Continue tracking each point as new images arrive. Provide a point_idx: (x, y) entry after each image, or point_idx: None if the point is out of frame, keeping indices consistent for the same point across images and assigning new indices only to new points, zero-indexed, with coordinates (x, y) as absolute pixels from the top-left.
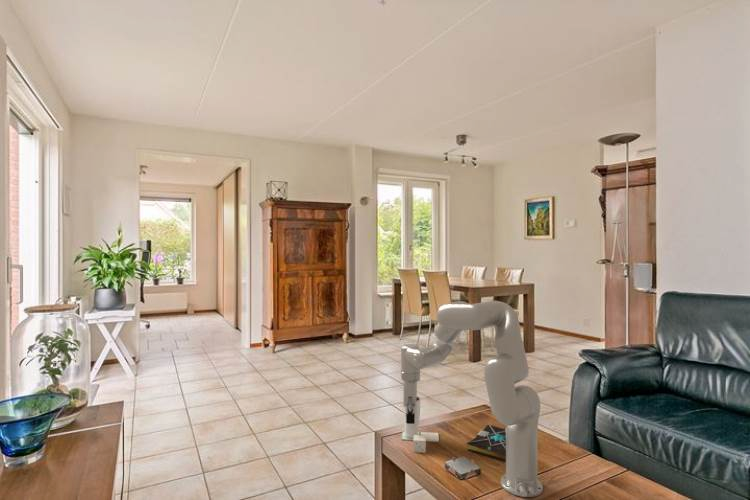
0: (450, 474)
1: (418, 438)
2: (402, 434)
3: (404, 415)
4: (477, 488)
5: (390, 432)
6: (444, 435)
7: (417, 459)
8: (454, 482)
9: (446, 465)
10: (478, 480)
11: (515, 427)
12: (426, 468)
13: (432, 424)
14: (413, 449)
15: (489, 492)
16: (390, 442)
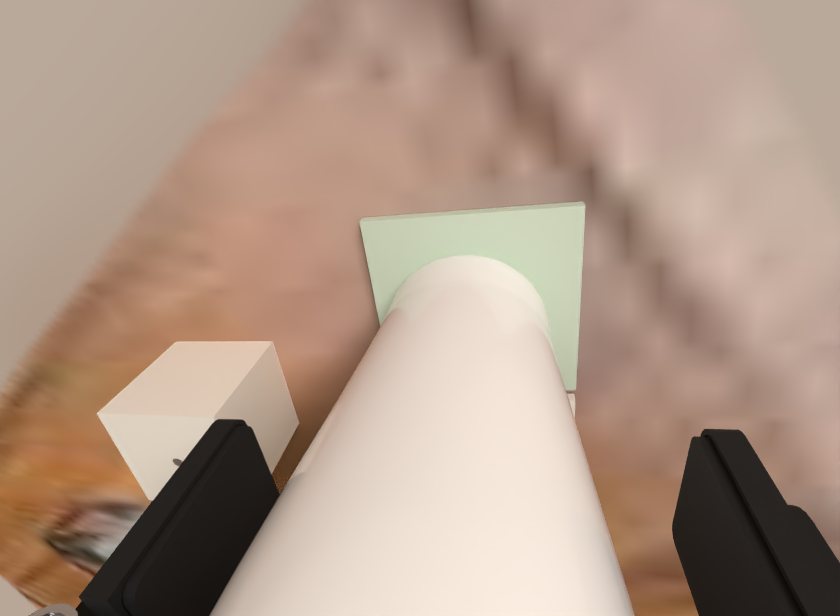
0: (55, 514)
1: (159, 454)
2: (485, 216)
3: (331, 448)
4: (28, 577)
5: (568, 12)
6: None
7: (89, 371)
8: (3, 519)
9: (126, 508)
10: None
11: None
12: (24, 420)
13: (811, 489)
14: (161, 355)
15: (32, 600)
16: (257, 88)
